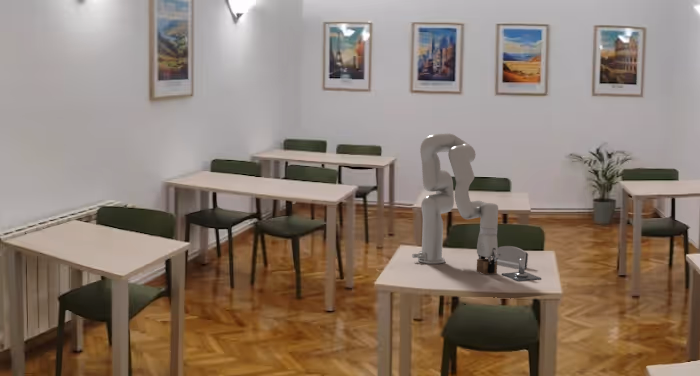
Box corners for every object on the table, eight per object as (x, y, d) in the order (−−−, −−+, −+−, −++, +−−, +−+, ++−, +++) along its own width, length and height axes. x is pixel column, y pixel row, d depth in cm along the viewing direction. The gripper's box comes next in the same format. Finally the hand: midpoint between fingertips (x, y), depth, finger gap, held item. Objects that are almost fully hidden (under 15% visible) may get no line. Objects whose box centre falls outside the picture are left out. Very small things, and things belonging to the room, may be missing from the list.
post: (517, 281, 339) (518, 262, 338) (501, 274, 350) (502, 257, 349) (540, 279, 344) (541, 261, 343) (524, 272, 355) (525, 255, 354)
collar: (484, 274, 350) (485, 262, 349) (476, 271, 356) (477, 259, 355) (496, 273, 353) (497, 261, 352) (488, 270, 358) (489, 258, 358)
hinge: (490, 263, 372) (495, 242, 373) (495, 265, 375) (500, 244, 377) (521, 269, 361) (526, 248, 362) (526, 271, 364) (531, 250, 366)
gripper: (470, 228, 358) (469, 267, 360) (492, 235, 342) (490, 276, 345) (485, 227, 361) (483, 265, 363) (506, 234, 345) (504, 274, 348)
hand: (486, 270), depth 354 cm, fingers closed on collar, 6 cm apart
